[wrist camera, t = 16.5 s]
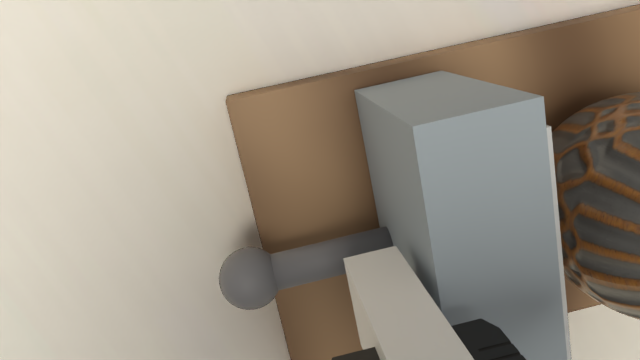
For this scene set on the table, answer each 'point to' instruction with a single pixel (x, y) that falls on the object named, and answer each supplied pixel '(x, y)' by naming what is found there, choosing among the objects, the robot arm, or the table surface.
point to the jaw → (448, 210)
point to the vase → (601, 200)
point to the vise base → (350, 156)
